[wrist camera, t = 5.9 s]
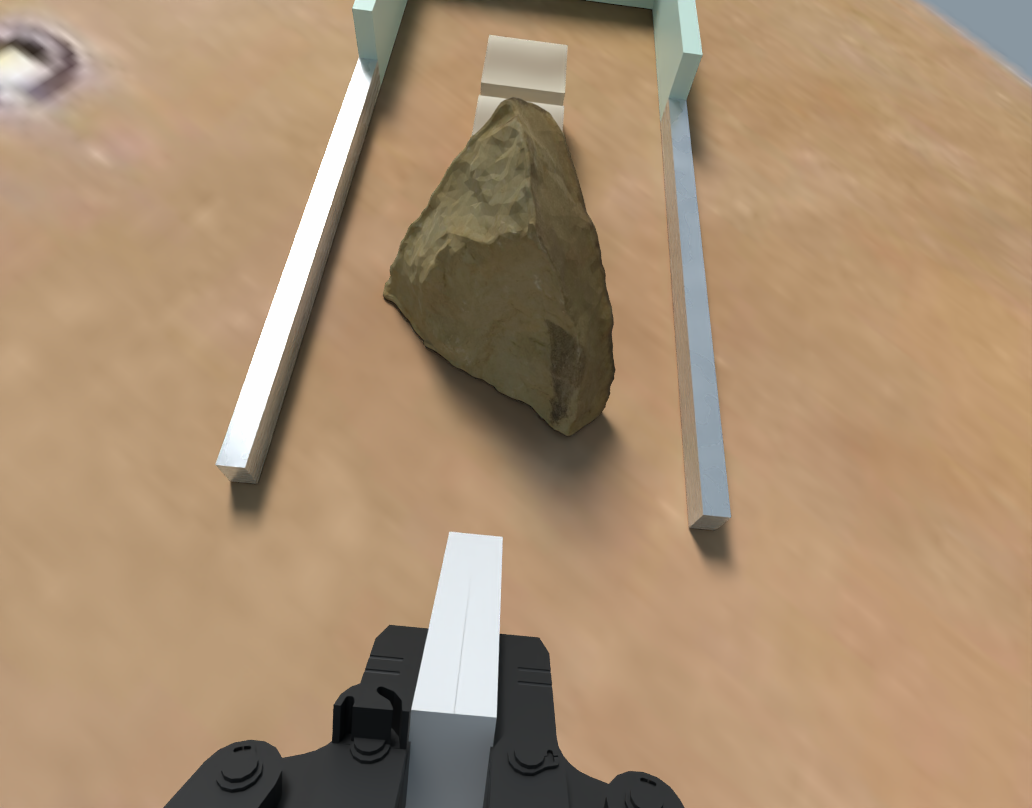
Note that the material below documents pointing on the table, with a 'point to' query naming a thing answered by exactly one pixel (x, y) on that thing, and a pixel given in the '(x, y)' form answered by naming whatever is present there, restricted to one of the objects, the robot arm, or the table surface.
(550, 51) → the beige cube
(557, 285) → the rock
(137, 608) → the table surface
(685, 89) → the tray pen
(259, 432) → the slot rails
